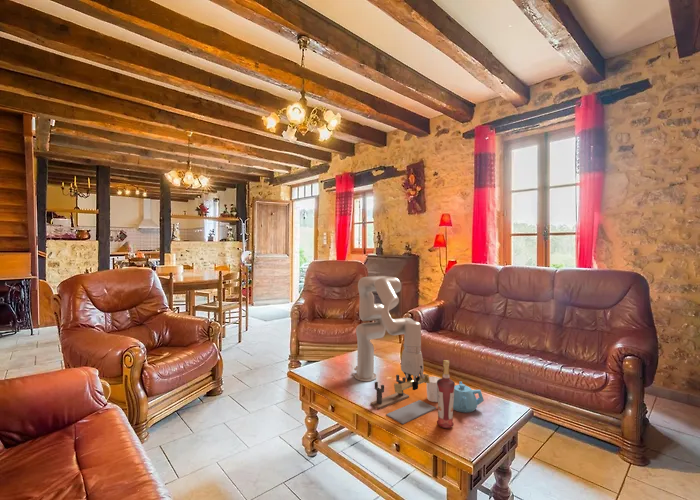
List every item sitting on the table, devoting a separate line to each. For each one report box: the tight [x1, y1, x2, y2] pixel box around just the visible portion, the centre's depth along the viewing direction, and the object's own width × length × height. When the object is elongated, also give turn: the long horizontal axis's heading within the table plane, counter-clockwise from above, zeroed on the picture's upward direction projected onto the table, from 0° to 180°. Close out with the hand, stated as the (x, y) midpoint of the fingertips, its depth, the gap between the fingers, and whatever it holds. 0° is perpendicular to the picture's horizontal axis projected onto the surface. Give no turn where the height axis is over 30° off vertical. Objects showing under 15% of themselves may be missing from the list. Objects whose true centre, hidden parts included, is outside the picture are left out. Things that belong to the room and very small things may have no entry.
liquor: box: [436, 359, 456, 430], centre depth 148 cm, size 7×7×28 cm
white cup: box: [425, 376, 441, 403], centre depth 173 cm, size 8×8×10 cm
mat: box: [386, 399, 437, 425], centre depth 160 cm, size 10×23×1 cm, turn 129°
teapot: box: [453, 381, 485, 414], centre depth 166 cm, size 15×15×11 cm
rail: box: [393, 373, 430, 394], centre depth 160 cm, size 20×4×4 cm, turn 129°
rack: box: [369, 374, 410, 410], centre depth 171 cm, size 6×21×10 cm, turn 129°
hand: (412, 387), depth 160 cm, fingers closed on rail, 2 cm apart
